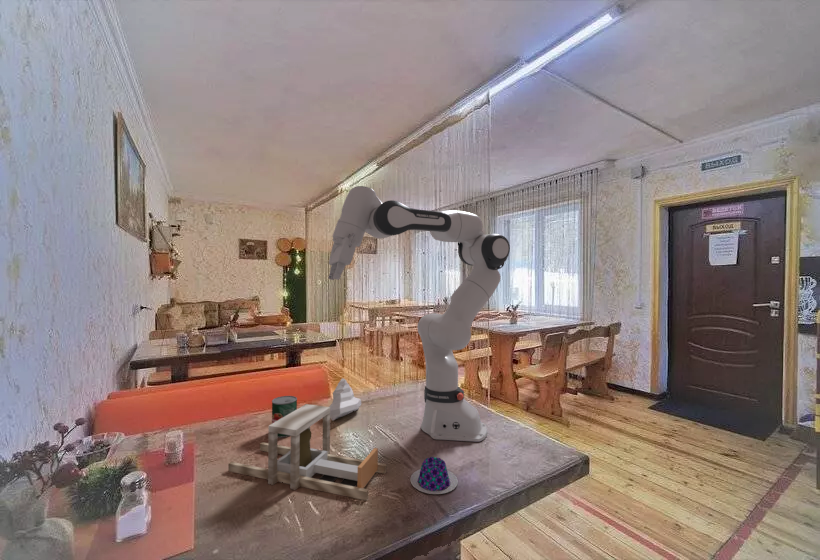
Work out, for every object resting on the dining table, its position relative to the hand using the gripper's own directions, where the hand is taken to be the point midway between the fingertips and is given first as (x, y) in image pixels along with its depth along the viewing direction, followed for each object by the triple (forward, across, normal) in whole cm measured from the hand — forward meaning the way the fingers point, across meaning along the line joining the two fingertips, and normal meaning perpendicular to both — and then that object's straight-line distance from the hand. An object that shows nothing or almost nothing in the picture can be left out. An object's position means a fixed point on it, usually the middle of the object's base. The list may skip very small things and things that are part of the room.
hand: (333, 279), depth 105 cm
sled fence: (+49, -13, -13) cm, 52 cm away
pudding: (+42, -25, -37) cm, 62 cm away
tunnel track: (+51, -9, -9) cm, 53 cm away
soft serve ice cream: (+46, +27, -24) cm, 58 cm away
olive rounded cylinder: (+52, -8, -7) cm, 53 cm away
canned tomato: (+53, +18, -4) cm, 56 cm away
